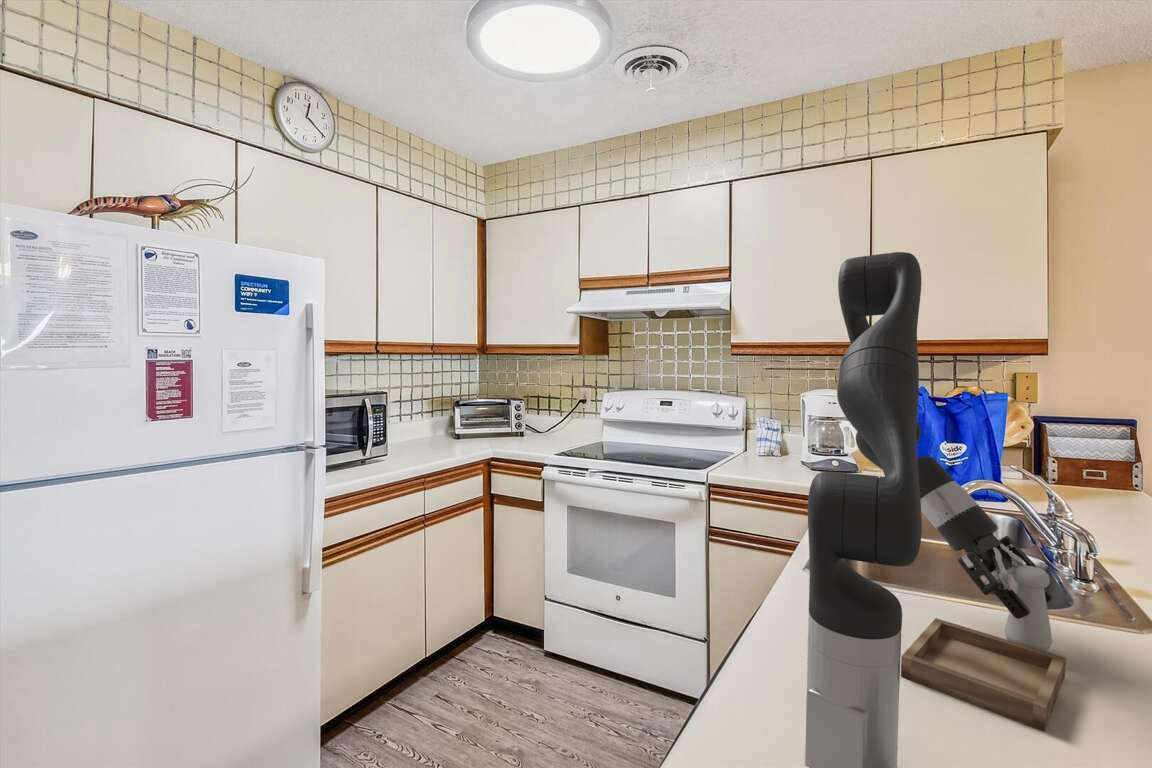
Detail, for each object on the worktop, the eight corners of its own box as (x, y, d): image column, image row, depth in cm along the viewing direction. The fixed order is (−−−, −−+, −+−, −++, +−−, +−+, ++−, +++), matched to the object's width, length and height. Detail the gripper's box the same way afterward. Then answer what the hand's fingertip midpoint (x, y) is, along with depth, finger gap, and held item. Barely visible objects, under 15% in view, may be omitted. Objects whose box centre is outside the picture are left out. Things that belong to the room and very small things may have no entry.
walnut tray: (1044, 731, 70) (1045, 707, 70) (900, 676, 81) (901, 655, 81) (1064, 677, 81) (1065, 657, 80) (935, 636, 92) (935, 618, 92)
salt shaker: (1031, 664, 84) (1036, 578, 83) (994, 644, 90) (997, 563, 89) (1061, 657, 86) (1066, 573, 85) (1022, 638, 91) (1026, 559, 90)
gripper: (953, 511, 89) (1039, 611, 80) (993, 496, 97) (1076, 586, 88) (916, 535, 94) (994, 631, 85) (957, 519, 101) (1033, 606, 93)
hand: (1036, 608), depth 86 cm, fingers open, 8 cm apart
